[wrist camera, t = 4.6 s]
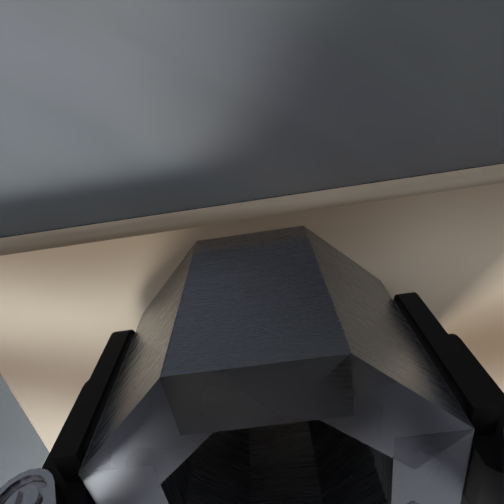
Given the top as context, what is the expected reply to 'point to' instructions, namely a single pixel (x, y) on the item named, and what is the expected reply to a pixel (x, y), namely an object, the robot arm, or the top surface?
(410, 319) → the robot arm
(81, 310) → the board
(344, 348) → the ring
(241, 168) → the top surface
